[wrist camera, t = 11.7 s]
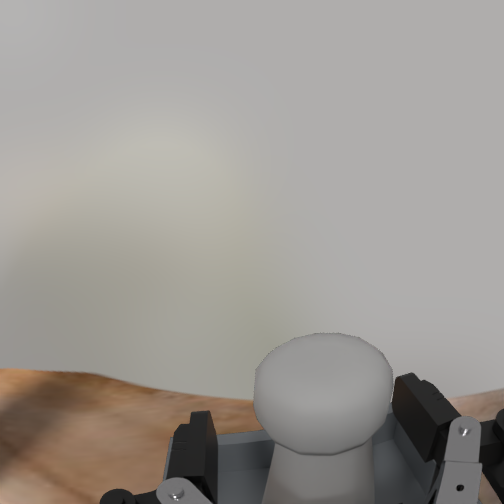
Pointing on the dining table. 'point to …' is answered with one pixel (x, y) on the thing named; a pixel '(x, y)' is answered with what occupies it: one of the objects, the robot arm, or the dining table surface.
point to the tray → (262, 448)
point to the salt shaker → (322, 417)
